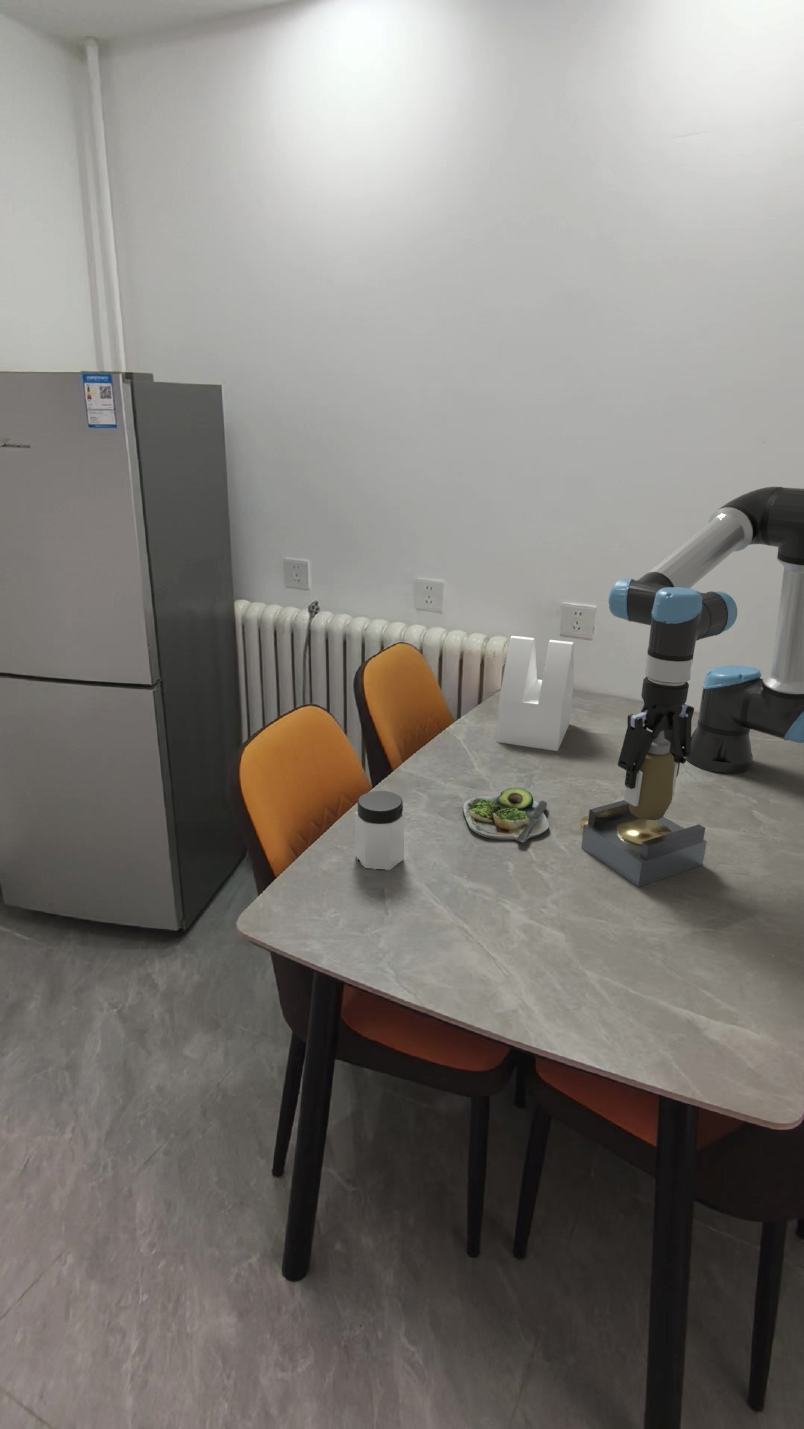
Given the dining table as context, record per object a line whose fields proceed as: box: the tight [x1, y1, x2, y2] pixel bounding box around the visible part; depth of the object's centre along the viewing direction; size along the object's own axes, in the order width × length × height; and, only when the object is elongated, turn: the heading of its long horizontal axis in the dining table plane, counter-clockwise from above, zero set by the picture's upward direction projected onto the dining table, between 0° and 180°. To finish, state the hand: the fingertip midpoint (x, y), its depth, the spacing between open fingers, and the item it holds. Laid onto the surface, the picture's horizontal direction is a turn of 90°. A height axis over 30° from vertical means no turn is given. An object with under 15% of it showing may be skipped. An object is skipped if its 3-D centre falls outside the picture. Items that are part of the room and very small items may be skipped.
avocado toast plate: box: [462, 787, 550, 844], centre depth 159 cm, size 19×18×5 cm
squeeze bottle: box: [628, 730, 674, 820], centre depth 142 cm, size 8×8×18 cm
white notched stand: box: [495, 635, 575, 752], centre depth 201 cm, size 19×15×25 cm
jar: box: [354, 790, 406, 871], centre depth 144 cm, size 9×8×12 cm
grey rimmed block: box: [580, 799, 707, 888], centre depth 147 cm, size 16×15×8 cm
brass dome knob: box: [579, 815, 589, 835], centre depth 157 cm, size 6×6×2 cm
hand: (649, 797), depth 144 cm, fingers closed on squeeze bottle, 8 cm apart
